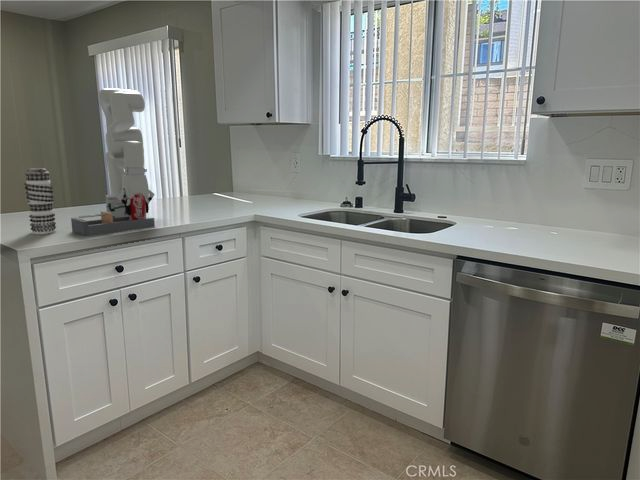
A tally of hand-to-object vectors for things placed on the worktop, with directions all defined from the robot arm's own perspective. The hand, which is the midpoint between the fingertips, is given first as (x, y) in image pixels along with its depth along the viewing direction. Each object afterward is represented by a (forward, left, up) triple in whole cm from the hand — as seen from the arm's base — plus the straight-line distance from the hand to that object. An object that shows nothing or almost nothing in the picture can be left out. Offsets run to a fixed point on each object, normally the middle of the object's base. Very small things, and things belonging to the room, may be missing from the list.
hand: (137, 213), depth 188 cm
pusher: (0, -18, -5) cm, 19 cm away
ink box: (-18, -1, -6) cm, 19 cm away
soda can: (0, 0, -4) cm, 4 cm away
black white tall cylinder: (-12, -33, -6) cm, 35 cm away
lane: (0, -9, -6) cm, 11 cm away
